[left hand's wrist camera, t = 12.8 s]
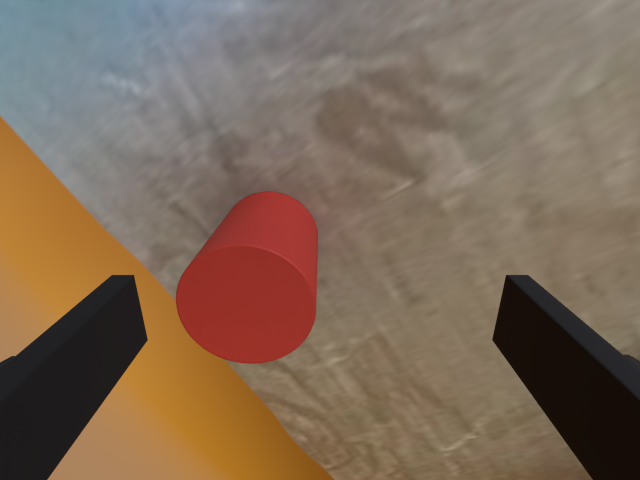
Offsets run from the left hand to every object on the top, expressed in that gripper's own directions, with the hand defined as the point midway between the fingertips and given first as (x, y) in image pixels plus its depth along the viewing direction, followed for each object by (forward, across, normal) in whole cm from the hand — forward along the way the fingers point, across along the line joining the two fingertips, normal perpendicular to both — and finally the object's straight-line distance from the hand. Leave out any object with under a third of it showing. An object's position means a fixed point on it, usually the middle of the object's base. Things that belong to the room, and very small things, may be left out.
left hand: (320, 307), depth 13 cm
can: (+20, -4, -5) cm, 21 cm away
